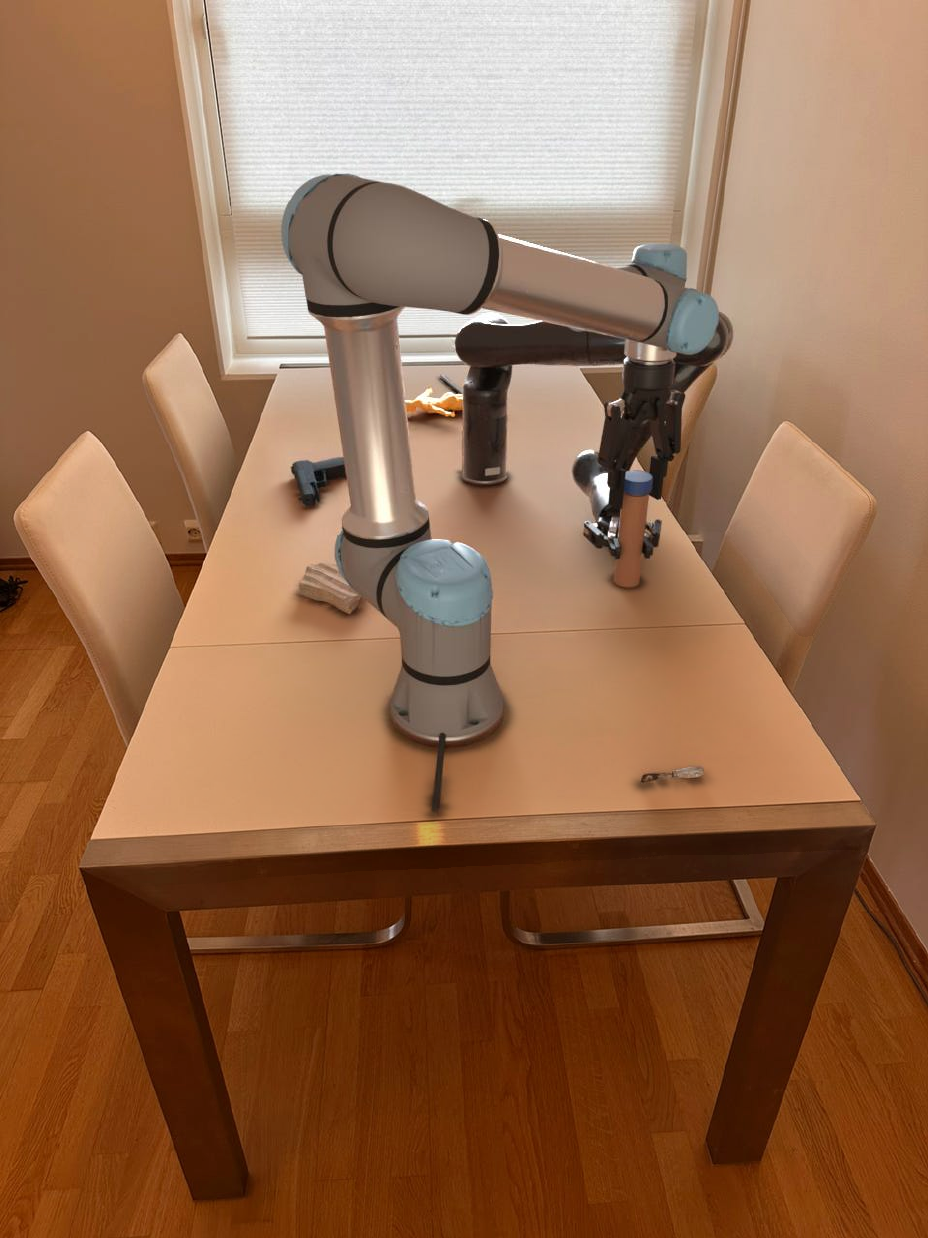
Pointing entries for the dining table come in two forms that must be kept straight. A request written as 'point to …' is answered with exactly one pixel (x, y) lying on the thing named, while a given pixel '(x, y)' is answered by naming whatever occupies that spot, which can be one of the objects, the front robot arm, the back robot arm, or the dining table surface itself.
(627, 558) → the tall tan cylinder
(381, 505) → the front robot arm
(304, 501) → the handgun
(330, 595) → the stone
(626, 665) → the dining table surface
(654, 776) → the putty knife
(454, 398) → the human figure
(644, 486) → the lid
